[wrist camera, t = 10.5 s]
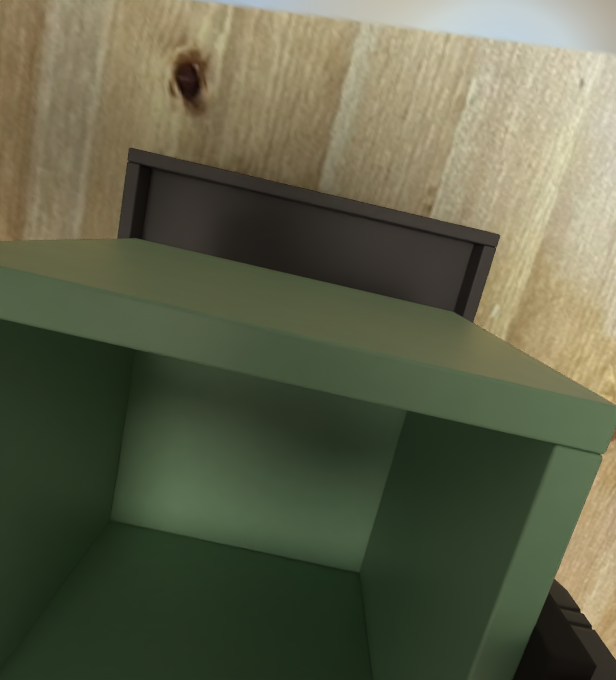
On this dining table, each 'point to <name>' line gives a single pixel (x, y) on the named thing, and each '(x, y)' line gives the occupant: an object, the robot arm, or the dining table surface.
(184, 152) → the dining table surface
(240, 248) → the tray
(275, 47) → the dining table surface
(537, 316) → the dining table surface
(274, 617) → the green tub
